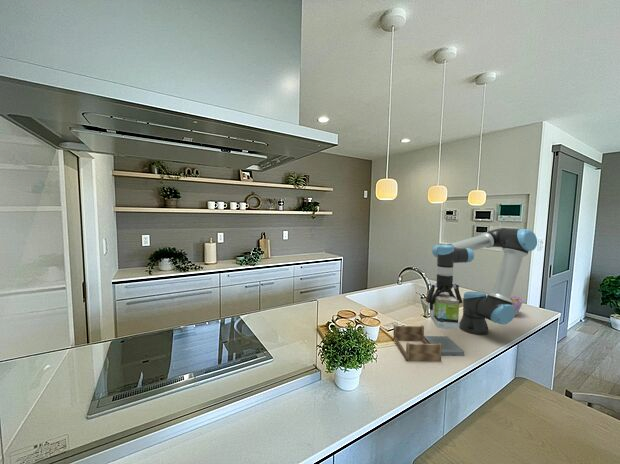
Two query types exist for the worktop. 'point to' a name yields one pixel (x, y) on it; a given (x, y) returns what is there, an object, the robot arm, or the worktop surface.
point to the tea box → (446, 311)
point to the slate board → (445, 345)
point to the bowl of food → (516, 303)
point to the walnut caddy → (416, 350)
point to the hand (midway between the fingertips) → (443, 315)
